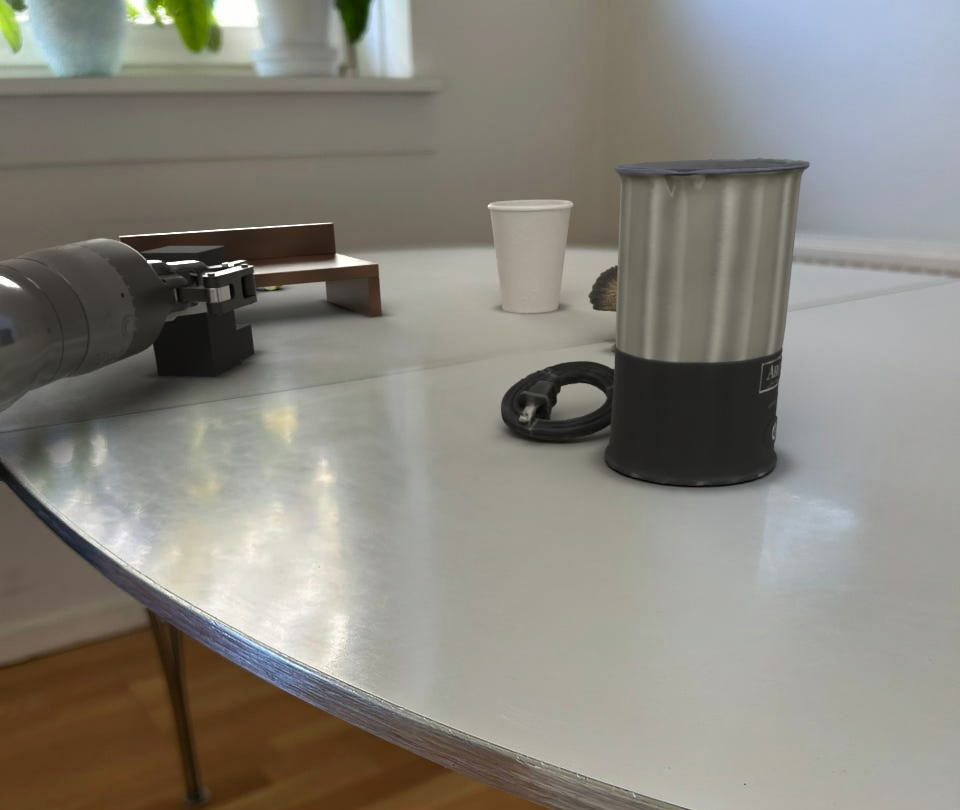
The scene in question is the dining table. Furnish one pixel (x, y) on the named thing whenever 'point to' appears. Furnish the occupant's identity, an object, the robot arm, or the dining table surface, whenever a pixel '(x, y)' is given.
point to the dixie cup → (530, 252)
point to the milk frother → (687, 325)
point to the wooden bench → (287, 259)
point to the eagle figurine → (605, 292)
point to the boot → (199, 326)
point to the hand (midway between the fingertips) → (195, 274)
